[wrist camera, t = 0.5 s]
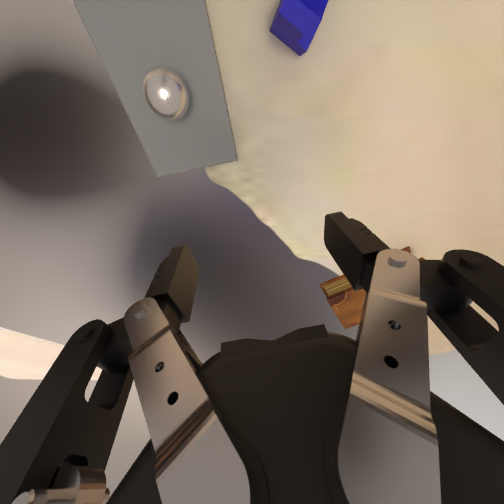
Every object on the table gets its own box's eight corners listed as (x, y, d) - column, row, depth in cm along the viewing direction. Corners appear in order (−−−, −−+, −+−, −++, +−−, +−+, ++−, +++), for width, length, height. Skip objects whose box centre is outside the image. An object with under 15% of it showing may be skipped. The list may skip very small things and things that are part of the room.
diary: (337, 314, 63) (345, 330, 58) (319, 283, 52) (327, 300, 48) (411, 286, 56) (426, 301, 52) (407, 245, 46) (426, 260, 42)
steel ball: (143, 73, 23) (124, 67, 19) (183, 64, 22) (172, 55, 18) (162, 123, 26) (149, 126, 22) (197, 115, 25) (191, 117, 22)
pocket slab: (-23, -219, 14) (-47, -249, 12) (148, -274, 13) (140, -311, 12) (160, 174, 31) (157, 177, 30) (237, 158, 30) (237, 160, 29)
